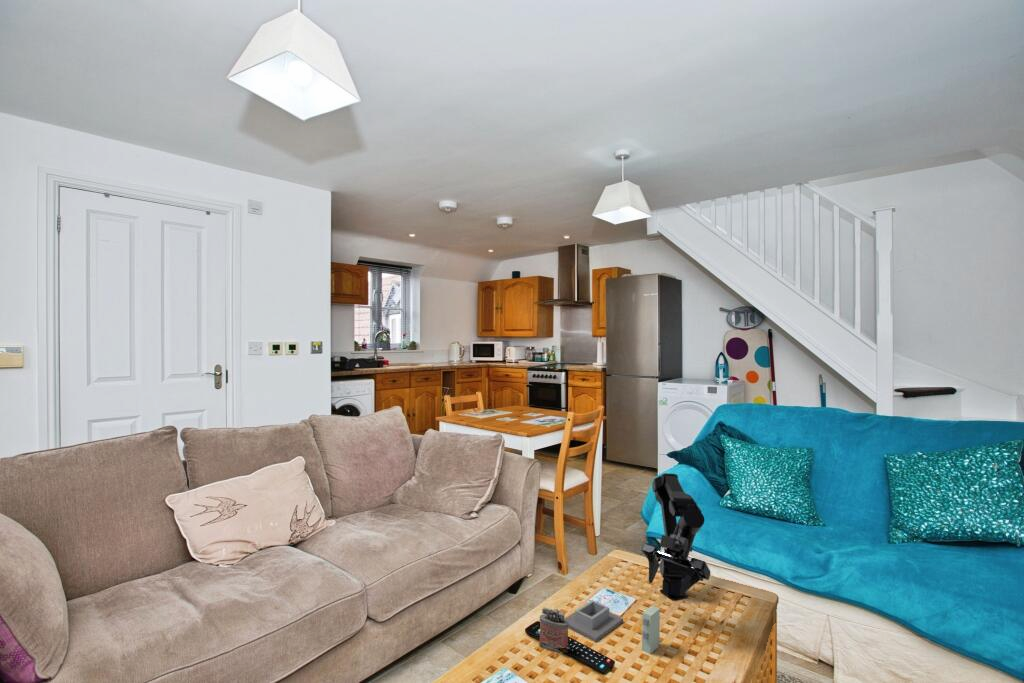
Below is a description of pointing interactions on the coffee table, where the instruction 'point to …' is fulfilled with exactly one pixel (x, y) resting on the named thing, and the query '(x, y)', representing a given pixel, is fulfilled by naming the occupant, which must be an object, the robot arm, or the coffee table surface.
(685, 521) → the robot arm
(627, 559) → the coffee table surface
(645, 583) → the coffee table surface
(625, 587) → the coffee table surface
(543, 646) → the lighter
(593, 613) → the grey socket base
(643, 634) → the pale green rectangular block
